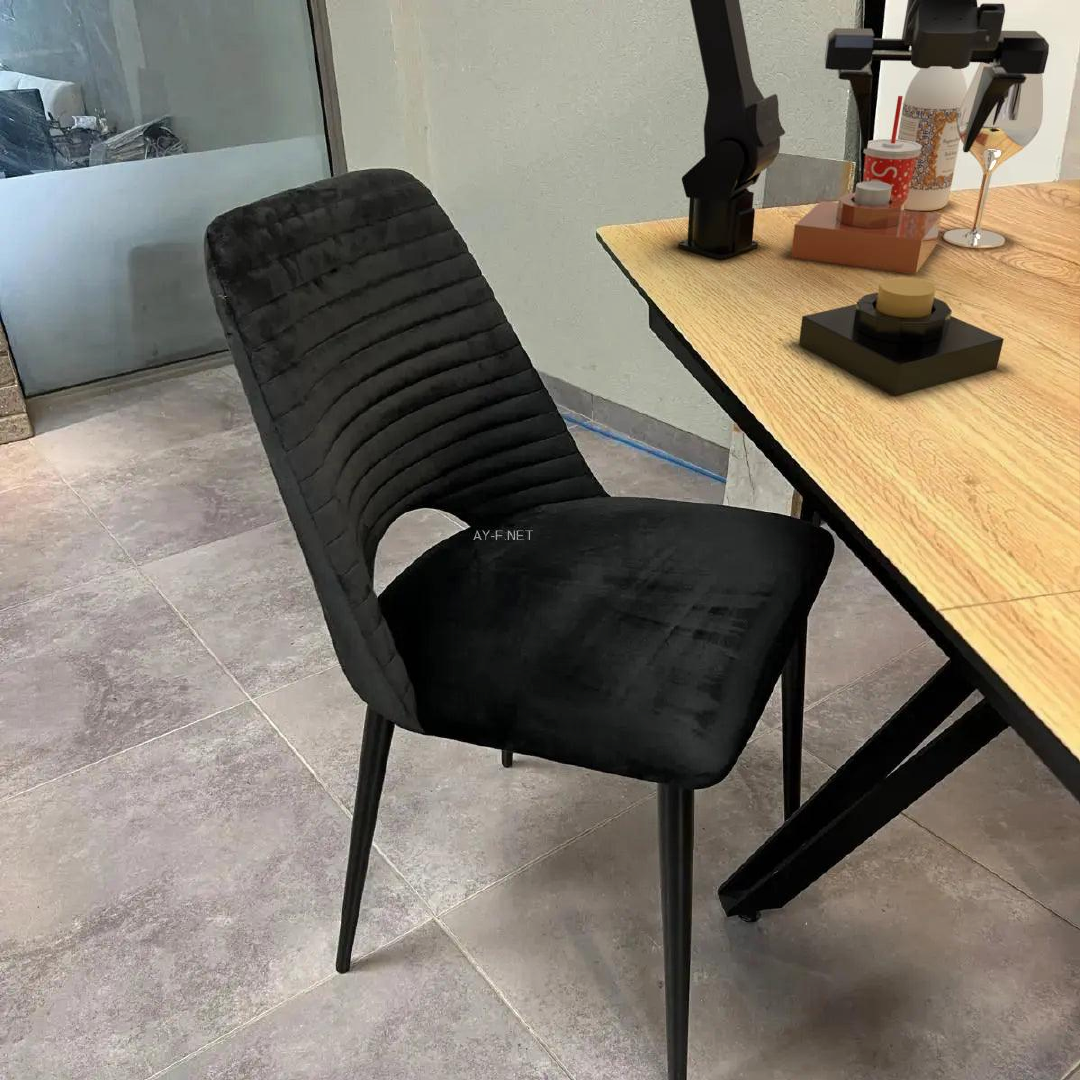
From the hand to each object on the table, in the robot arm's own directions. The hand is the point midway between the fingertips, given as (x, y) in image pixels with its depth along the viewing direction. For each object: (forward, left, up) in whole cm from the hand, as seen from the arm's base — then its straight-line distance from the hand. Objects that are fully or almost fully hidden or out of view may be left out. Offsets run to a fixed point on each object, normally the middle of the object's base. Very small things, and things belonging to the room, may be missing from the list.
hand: (914, 149), depth 98 cm
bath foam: (-12, +24, -12) cm, 30 cm away
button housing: (-6, +4, -12) cm, 14 cm away
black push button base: (+12, -18, -12) cm, 25 cm away
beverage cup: (-10, +13, -12) cm, 21 cm away
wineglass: (0, +16, -12) cm, 20 cm away
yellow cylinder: (+12, -18, -8) cm, 23 cm away
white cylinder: (-6, +4, -7) cm, 10 cm away
